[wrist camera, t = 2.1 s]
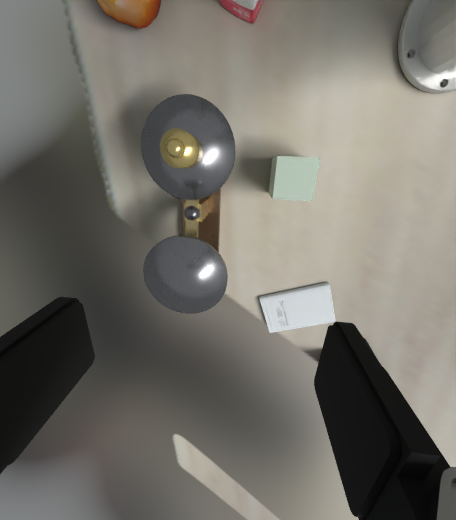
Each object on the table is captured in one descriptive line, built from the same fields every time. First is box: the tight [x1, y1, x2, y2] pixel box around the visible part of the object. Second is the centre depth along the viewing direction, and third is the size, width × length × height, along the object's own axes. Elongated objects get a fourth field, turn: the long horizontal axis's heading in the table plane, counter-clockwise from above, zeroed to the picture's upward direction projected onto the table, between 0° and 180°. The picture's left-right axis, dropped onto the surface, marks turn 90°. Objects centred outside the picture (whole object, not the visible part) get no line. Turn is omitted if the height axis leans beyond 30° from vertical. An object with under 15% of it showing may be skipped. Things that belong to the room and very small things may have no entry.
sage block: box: [269, 156, 320, 201], centre depth 31 cm, size 5×5×7 cm
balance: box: [142, 94, 235, 314], centre depth 31 cm, size 26×11×14 cm, turn 178°
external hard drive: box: [259, 282, 335, 333], centre depth 43 cm, size 2×8×12 cm
